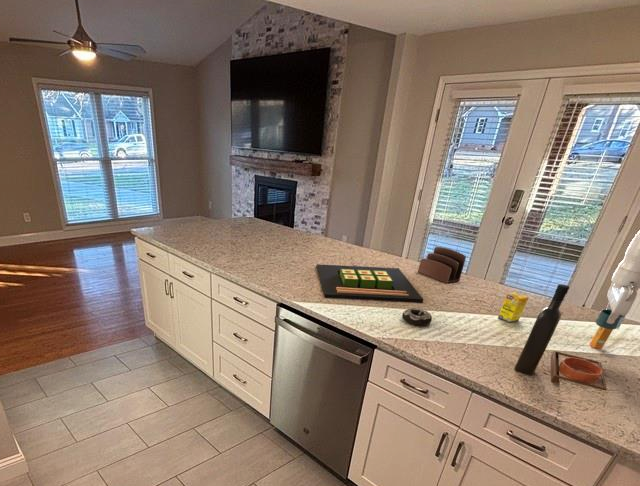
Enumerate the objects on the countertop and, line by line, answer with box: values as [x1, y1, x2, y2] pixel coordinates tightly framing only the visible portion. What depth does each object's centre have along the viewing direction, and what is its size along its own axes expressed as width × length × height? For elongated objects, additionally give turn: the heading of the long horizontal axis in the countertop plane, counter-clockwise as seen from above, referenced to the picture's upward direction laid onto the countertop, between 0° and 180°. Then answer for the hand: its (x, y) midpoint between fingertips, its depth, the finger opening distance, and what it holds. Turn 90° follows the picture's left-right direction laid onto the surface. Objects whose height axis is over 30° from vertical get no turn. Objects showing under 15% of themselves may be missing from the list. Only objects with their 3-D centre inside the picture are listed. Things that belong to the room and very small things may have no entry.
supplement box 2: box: [589, 326, 614, 350], centre depth 155 cm, size 3×3×10 cm
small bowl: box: [594, 308, 626, 330], centre depth 138 cm, size 7×7×4 cm
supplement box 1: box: [497, 291, 530, 324], centre depth 174 cm, size 6×6×11 cm
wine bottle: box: [514, 283, 570, 376], centre depth 133 cm, size 6×6×30 cm
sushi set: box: [316, 263, 424, 304], centre depth 207 cm, size 45×45×4 cm
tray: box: [550, 350, 607, 391], centre depth 139 cm, size 14×20×2 cm
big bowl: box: [557, 356, 604, 384], centre depth 136 cm, size 11×11×5 cm
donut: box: [401, 307, 433, 327], centre depth 171 cm, size 12×12×4 cm
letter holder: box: [417, 246, 467, 284], centre depth 218 cm, size 10×20×14 cm, turn 30°
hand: (608, 318), depth 138 cm, fingers closed on small bowl, 6 cm apart
